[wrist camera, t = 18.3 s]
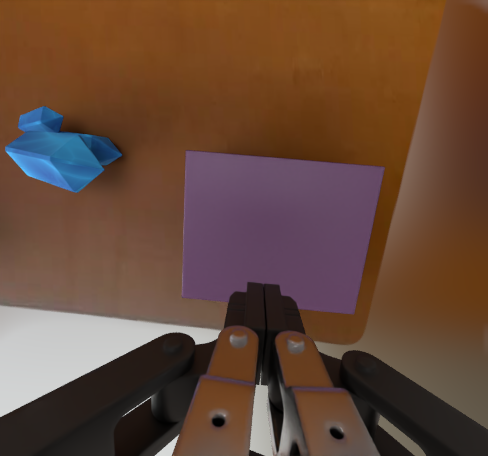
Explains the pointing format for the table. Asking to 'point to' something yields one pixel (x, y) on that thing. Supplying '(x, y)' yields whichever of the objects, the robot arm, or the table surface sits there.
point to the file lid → (277, 227)
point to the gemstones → (59, 151)
